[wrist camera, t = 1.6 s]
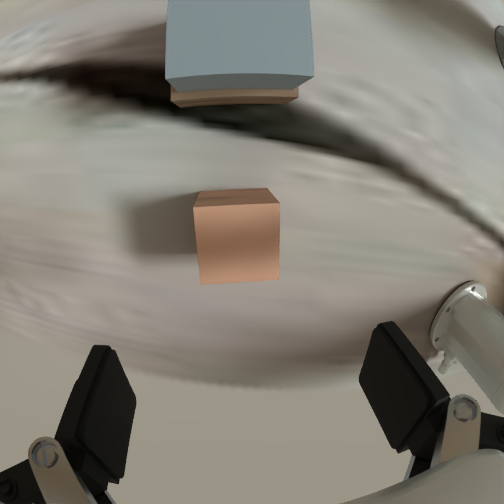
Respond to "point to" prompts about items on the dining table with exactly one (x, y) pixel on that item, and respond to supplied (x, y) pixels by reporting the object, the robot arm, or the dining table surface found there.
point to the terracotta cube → (237, 235)
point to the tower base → (232, 97)
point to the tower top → (238, 44)
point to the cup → (500, 42)
